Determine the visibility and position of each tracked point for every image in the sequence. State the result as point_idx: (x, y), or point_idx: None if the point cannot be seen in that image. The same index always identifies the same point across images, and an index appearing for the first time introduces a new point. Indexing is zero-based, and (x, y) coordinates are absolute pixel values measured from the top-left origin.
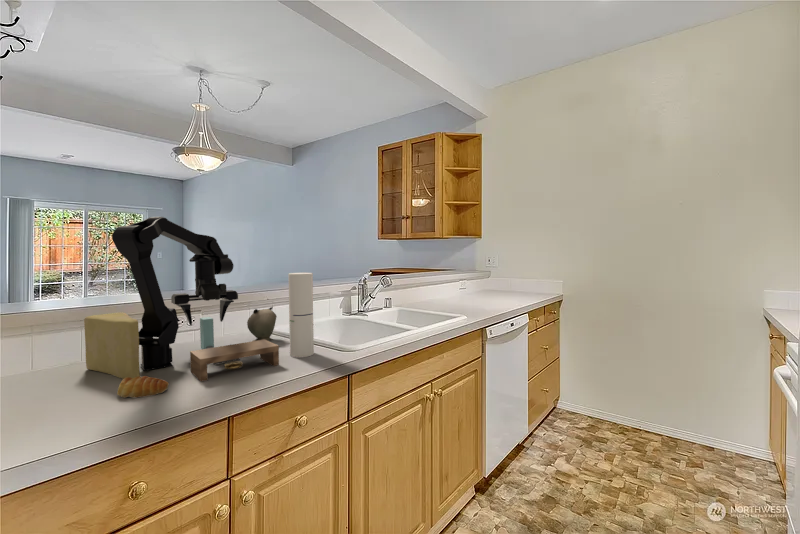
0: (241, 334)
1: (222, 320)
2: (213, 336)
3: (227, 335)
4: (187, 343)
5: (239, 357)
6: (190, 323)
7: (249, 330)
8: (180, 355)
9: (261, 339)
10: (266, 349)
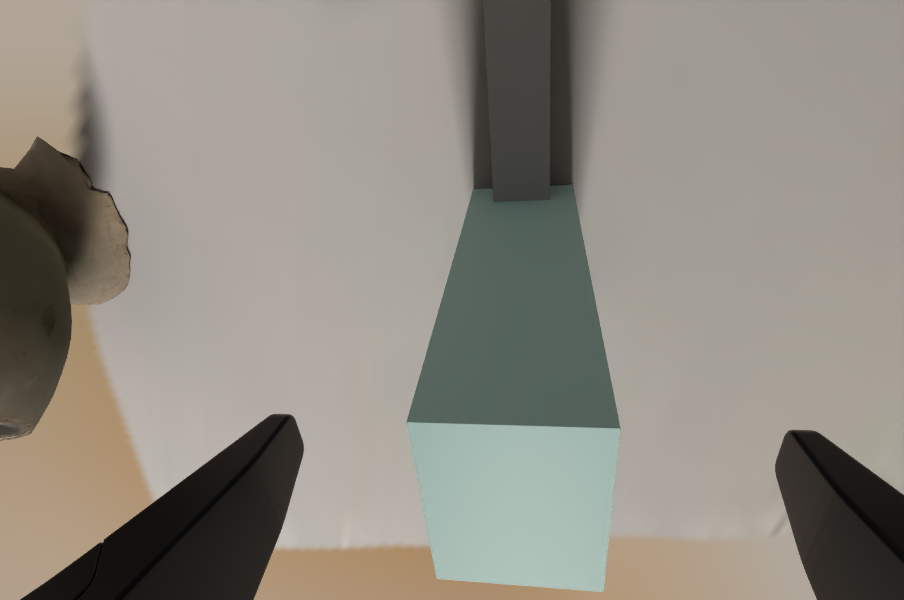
0: None
1: (265, 421)
2: (460, 247)
3: (315, 528)
4: None
5: None
6: (834, 451)
7: (54, 293)
8: (837, 133)
9: (14, 185)
10: None
